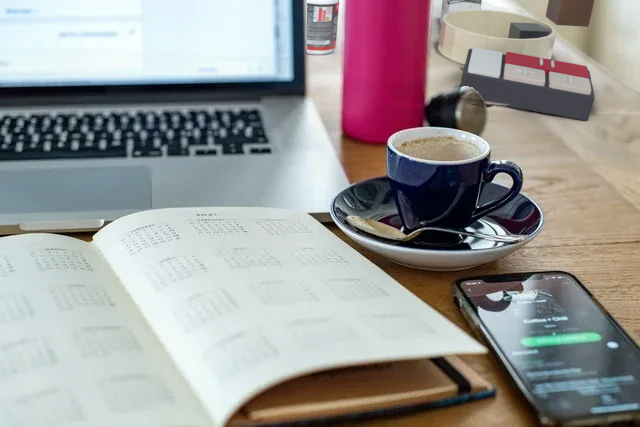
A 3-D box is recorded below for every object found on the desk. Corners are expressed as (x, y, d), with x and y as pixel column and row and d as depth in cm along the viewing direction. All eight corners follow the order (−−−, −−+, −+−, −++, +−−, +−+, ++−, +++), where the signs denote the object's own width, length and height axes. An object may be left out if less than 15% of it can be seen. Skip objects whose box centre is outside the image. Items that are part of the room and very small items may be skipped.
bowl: (528, 46, 127) (534, 12, 125) (564, 79, 114) (572, 42, 112) (427, 42, 125) (431, 7, 123) (452, 75, 112) (457, 36, 110)
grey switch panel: (597, 91, 99) (464, 66, 101) (587, 126, 101) (456, 101, 103) (591, 63, 108) (470, 41, 110) (582, 96, 110) (463, 74, 112)
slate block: (533, 51, 122) (538, 23, 120) (543, 60, 119) (549, 31, 117) (505, 51, 121) (510, 22, 120) (515, 59, 118) (520, 30, 116)
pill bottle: (341, 54, 117) (348, -21, 112) (301, 56, 115) (307, -21, 110) (325, 42, 121) (331, -31, 117) (286, 44, 119) (291, -31, 115)
